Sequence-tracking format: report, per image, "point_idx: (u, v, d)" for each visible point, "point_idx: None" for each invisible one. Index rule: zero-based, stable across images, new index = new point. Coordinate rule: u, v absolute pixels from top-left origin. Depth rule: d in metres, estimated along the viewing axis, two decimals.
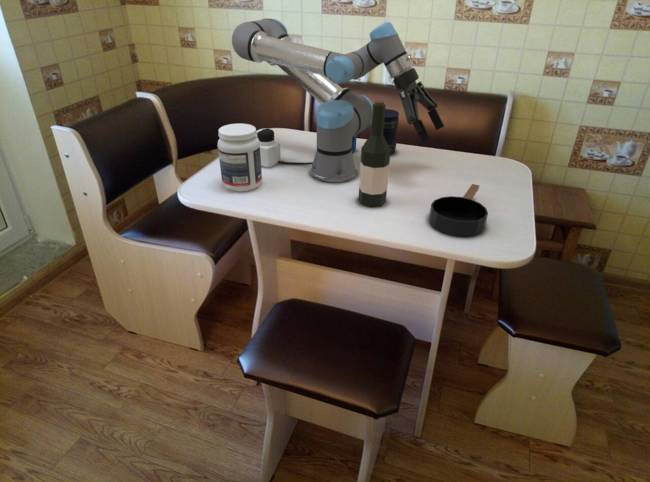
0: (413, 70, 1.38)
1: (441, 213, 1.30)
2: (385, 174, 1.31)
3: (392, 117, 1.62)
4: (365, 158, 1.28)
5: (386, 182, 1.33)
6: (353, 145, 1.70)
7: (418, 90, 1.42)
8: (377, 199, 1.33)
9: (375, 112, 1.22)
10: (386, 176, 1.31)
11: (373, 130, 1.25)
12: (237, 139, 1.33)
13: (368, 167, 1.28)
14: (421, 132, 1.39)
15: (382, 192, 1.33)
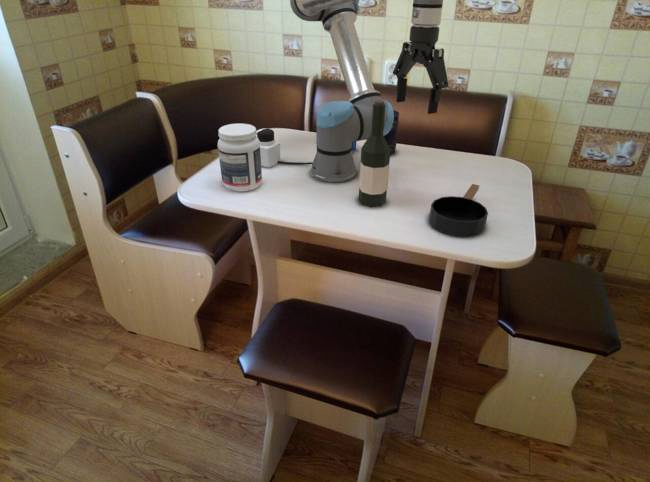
0: (412, 30, 1.18)
1: (441, 213, 1.30)
2: (385, 174, 1.31)
3: None
4: (365, 158, 1.28)
5: (386, 182, 1.33)
6: (353, 145, 1.70)
7: None
8: (377, 199, 1.33)
9: (375, 112, 1.22)
10: (386, 176, 1.31)
11: (373, 130, 1.25)
12: (237, 139, 1.33)
13: (368, 167, 1.28)
14: None
15: (382, 192, 1.33)
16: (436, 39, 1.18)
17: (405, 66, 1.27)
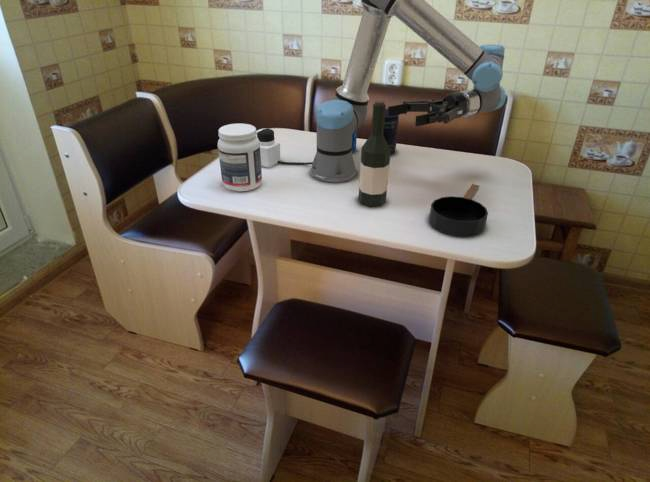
0: None
1: (441, 213, 1.30)
2: (385, 174, 1.31)
3: (392, 117, 1.62)
4: (365, 158, 1.28)
5: (386, 182, 1.33)
6: (353, 145, 1.70)
7: None
8: (377, 199, 1.33)
9: (375, 112, 1.22)
10: (386, 176, 1.31)
11: (373, 130, 1.25)
12: (237, 139, 1.33)
13: (368, 167, 1.28)
14: (425, 119, 1.24)
15: (382, 192, 1.33)
16: None
17: None
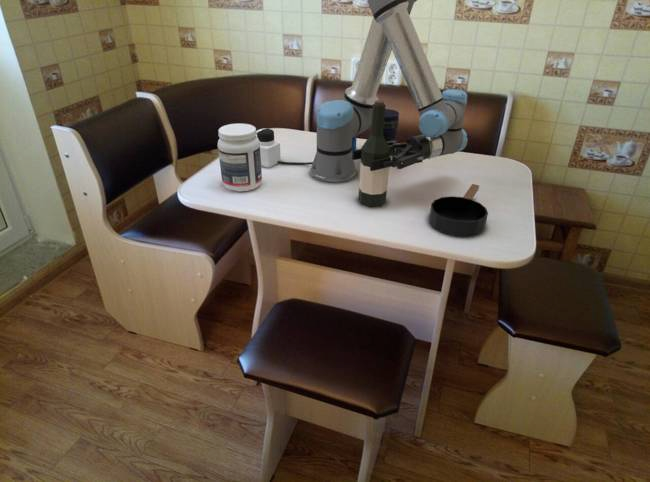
0: None
1: (441, 213, 1.30)
2: (385, 174, 1.31)
3: (392, 117, 1.62)
4: (365, 158, 1.28)
5: (386, 182, 1.33)
6: (353, 145, 1.70)
7: None
8: (377, 199, 1.33)
9: (375, 112, 1.22)
10: (386, 176, 1.31)
11: (373, 130, 1.25)
12: (237, 139, 1.33)
13: (368, 167, 1.28)
14: (380, 164, 1.26)
15: (382, 192, 1.33)
16: None
17: None
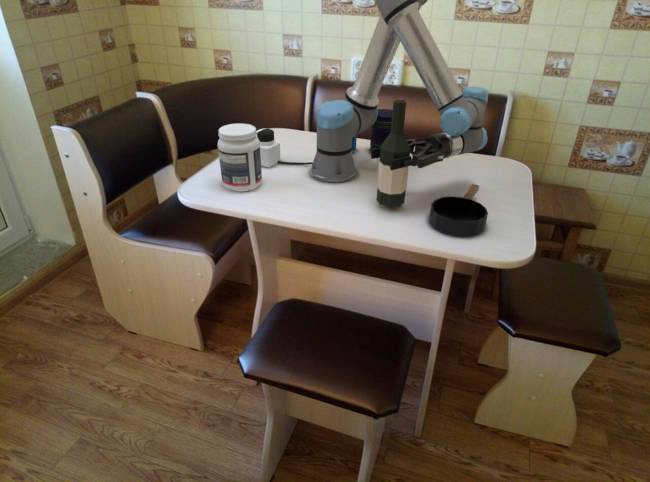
0: None
1: (441, 213, 1.30)
2: (405, 173, 1.27)
3: None
4: (384, 157, 1.25)
5: (405, 181, 1.30)
6: (353, 145, 1.70)
7: None
8: (396, 198, 1.30)
9: (395, 110, 1.19)
10: (406, 175, 1.28)
11: (393, 128, 1.22)
12: (237, 139, 1.33)
13: (388, 166, 1.25)
14: (400, 163, 1.23)
15: (401, 192, 1.29)
16: None
17: None
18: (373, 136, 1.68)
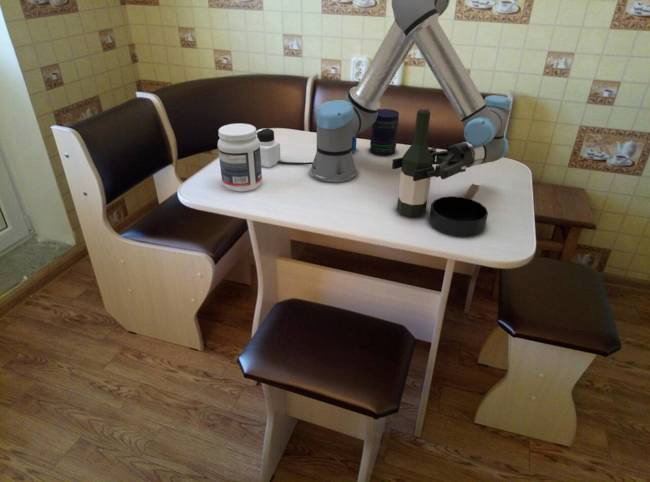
0: None
1: (441, 213, 1.30)
2: (427, 183, 1.25)
3: (392, 117, 1.62)
4: (407, 167, 1.23)
5: (427, 192, 1.28)
6: (353, 145, 1.70)
7: None
8: (418, 209, 1.28)
9: (419, 120, 1.17)
10: (428, 186, 1.26)
11: (416, 138, 1.20)
12: (237, 139, 1.33)
13: (410, 177, 1.23)
14: (423, 174, 1.21)
15: (423, 202, 1.28)
16: None
17: None
18: (373, 136, 1.68)
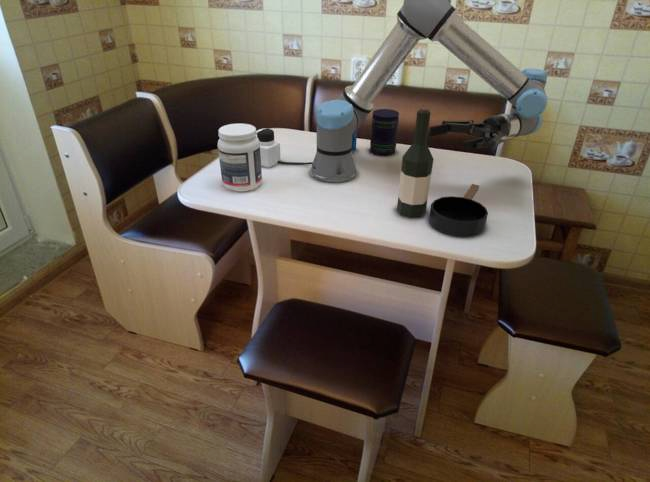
0: None
1: (441, 213, 1.30)
2: (427, 183, 1.25)
3: (392, 117, 1.62)
4: (407, 167, 1.23)
5: (427, 192, 1.28)
6: (353, 145, 1.70)
7: None
8: (418, 209, 1.28)
9: (419, 120, 1.17)
10: (428, 186, 1.26)
11: (416, 138, 1.20)
12: (237, 139, 1.33)
13: (410, 177, 1.23)
14: (473, 145, 1.22)
15: (423, 202, 1.28)
16: None
17: None
18: (373, 136, 1.68)
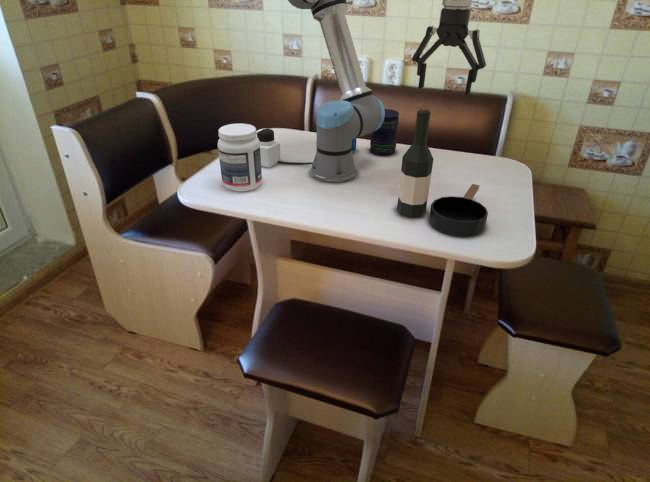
0: (449, 13, 1.17)
1: (441, 213, 1.30)
2: (427, 183, 1.25)
3: (392, 117, 1.62)
4: (407, 167, 1.23)
5: (427, 192, 1.28)
6: (353, 145, 1.70)
7: (453, 37, 1.21)
8: (418, 209, 1.28)
9: (419, 120, 1.17)
10: (428, 186, 1.26)
11: (416, 138, 1.20)
12: (237, 139, 1.33)
13: (410, 177, 1.23)
14: None
15: (423, 202, 1.28)
16: (468, 21, 1.20)
17: (431, 51, 1.25)
18: (373, 136, 1.68)
